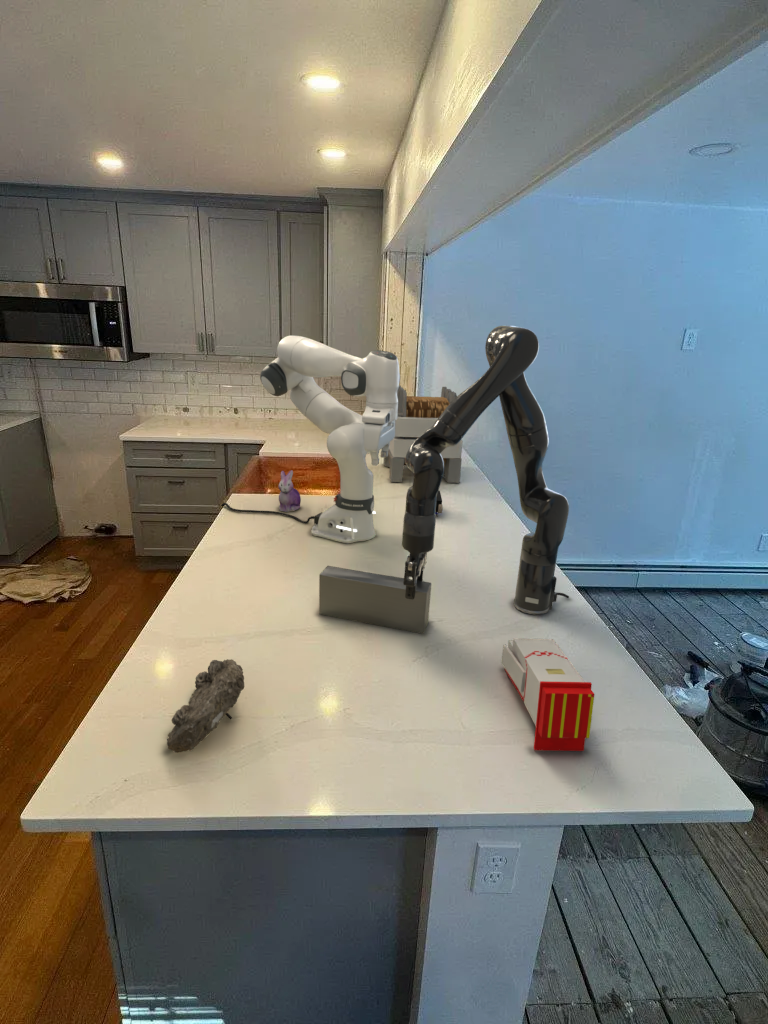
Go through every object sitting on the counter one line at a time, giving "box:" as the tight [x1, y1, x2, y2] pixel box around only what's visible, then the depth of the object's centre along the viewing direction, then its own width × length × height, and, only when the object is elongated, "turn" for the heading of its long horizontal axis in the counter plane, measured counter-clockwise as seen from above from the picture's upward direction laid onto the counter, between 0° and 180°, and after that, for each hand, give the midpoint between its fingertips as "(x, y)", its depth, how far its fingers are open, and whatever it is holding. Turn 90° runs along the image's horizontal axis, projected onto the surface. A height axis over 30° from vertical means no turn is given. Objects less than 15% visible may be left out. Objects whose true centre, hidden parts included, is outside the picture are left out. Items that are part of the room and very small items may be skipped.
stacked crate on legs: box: [383, 384, 464, 484], centre depth 268 cm, size 34×33×41 cm
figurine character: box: [435, 489, 443, 518], centre depth 221 cm, size 7×8×15 cm
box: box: [318, 565, 432, 635], centre depth 143 cm, size 28×6×11 cm, turn 74°
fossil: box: [166, 658, 245, 754], centre depth 106 cm, size 22×10×15 cm
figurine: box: [278, 469, 302, 513], centre depth 217 cm, size 9×10×15 cm
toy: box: [500, 637, 595, 752], centre depth 114 cm, size 12×13×30 cm
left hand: (379, 460), depth 161 cm, fingers open, 8 cm apart
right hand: (413, 590), depth 139 cm, fingers open, 8 cm apart
